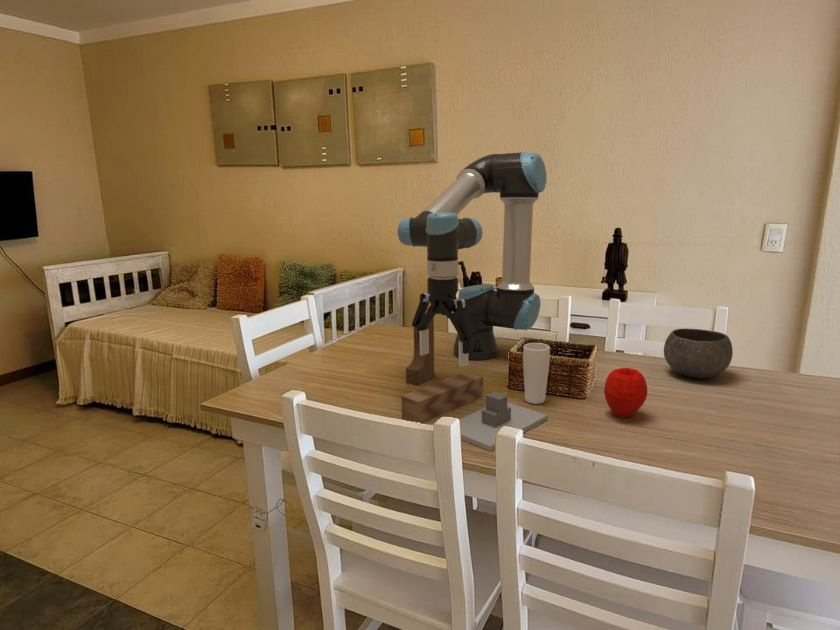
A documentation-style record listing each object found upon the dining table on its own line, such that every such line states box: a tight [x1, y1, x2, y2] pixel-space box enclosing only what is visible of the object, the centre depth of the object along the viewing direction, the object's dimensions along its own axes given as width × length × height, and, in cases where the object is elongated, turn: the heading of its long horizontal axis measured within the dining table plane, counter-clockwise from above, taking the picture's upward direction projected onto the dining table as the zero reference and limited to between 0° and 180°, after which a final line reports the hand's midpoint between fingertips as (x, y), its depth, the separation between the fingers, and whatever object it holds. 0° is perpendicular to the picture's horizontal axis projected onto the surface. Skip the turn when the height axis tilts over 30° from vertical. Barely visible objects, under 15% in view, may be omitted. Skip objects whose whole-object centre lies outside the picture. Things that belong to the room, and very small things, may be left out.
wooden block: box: [405, 318, 436, 385], centre depth 159 cm, size 9×4×18 cm, turn 146°
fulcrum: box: [459, 391, 549, 452], centre depth 128 cm, size 22×14×8 cm, turn 134°
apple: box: [603, 367, 648, 418], centre depth 132 cm, size 10×10×12 cm
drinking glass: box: [522, 342, 551, 405], centre depth 142 cm, size 7×7×15 cm
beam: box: [400, 371, 484, 424], centre depth 140 cm, size 24×6×6 cm, turn 134°
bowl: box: [663, 328, 734, 380], centre depth 158 cm, size 18×18×13 cm
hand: (443, 359), depth 138 cm, fingers open, 13 cm apart
